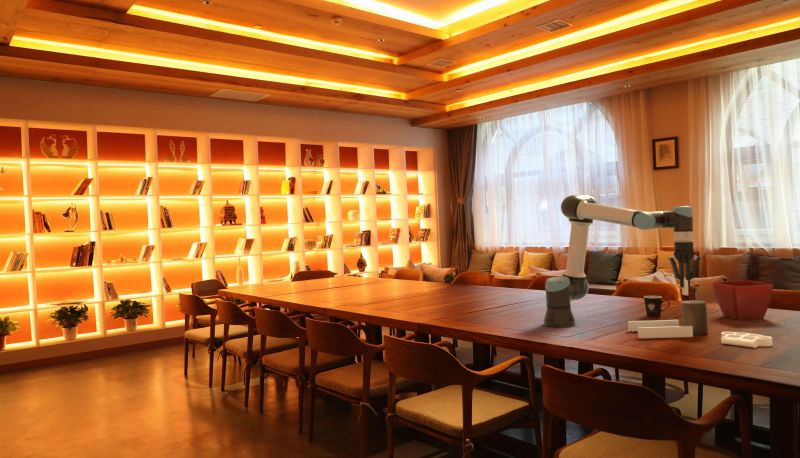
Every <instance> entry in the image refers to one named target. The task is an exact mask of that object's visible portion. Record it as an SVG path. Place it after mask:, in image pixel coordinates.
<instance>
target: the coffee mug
mask: <svg viewBox="0 0 800 458" xmlns="http://www.w3.org/2000/svg"><path fill="white" fill-rule="evenodd" d="M643 301H644V306H645V312H646V317H648V318H661V314H662V312H663V311H665V310H667V309H668V308H669V307H670V306H671V303H670V301H669V300H667V299H663V296H659V295H644V296H643ZM664 302H667V303H668V305H667V306H666V307H664V308H663V309H662V304H663V303H664Z"/></svg>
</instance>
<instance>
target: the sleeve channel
mask: <svg viewBox="0 0 800 458" xmlns="http://www.w3.org/2000/svg"><path fill="white" fill-rule="evenodd" d="M627 331H628V332H629V333H631V331H632V332H634V331H636V332H635V333H637V332H638V333H637V335H638V339H658V338H660V339H664V338H665V339H667V338H670V339H671V338H693V337H694V335H693V326H683V325H681V326H680V320H679V319H665V320H664V319H660V320H656V319H655V320H630V321H629V320H628V321H627Z"/></svg>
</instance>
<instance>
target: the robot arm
mask: <svg viewBox="0 0 800 458" xmlns="http://www.w3.org/2000/svg"><path fill="white" fill-rule="evenodd" d="M560 211H561V213H562V215H564V217H566V218H568V222H569V223H570V224H571V225H570V235H569V243H568V252H567V260H566V261H567V262H566V268H565V270H564V271H563V272H562V276H553V277H549V278H547V279H546V280H545V286H544V288H545V301H546V311H545V314H544V318H543V325H544V326H546V327H548V328H549V327H550V328H569V327H574V326H576V319H575V316H574V313H573V311H572V306H571V305H572V301H578V300H581V299H583V298H585V296H586V295H588V293H589V289H590V285H589V282H588V280H587V275H586V273H585V272H584V270H585V265H586V264H585V262H586V255H587V246H588V238H589V237H588V236H589V230H590V226H591V225H592V224H593V221H597V222H598V221H600V222H605V223H611V224H617V225H623V226H628V227H632V228H633V227H634V228H637V229H639V230H642V231H646V230H653V229H673V240H674V242H673V244H674V247H673V248H674V249H673V250H674V252H673V255H672V256H668V261H669V262H670V265H671V268H672V271H673V275H674V278H675V279H678V280H679V288H681V293H682V294H681V295H683V296H689V288H691V280H693V279H695V278H696V273H697V268H698V264H699V262H700V260H701V257H700V256H697V255H696V253H695V252H694V248H695V247H694V215H693V212H694V211H693V207H692V206H691V205H683V206H682V205H681V206H674V207H673V209H672V210H665V211H664V210H661V211H660V210H659V211H657V210H655V211H644V210H638V209H637V210H635V209H630V208H624V207H618V206H612V205H606V204H599V203H598V202H597V199H595V197H593V196H592V195H586V194H578V195H575V194H573V195H568V196H567V197H565V198H564V199H563V200H562V201H561V204H560ZM676 260H677V262H678V263H676ZM691 261H692V264H691ZM677 264H678V266H677Z"/></svg>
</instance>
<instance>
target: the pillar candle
mask: <svg viewBox="0 0 800 458" xmlns="http://www.w3.org/2000/svg"><path fill="white" fill-rule="evenodd" d="M680 305H681V315H682V316H681V317H682V326H693V336H701V335H707V334H708V333H709V331H708V315H707V302H706V301H705V300H695V299H694V298H692V300H682V301H681V304H680Z"/></svg>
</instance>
